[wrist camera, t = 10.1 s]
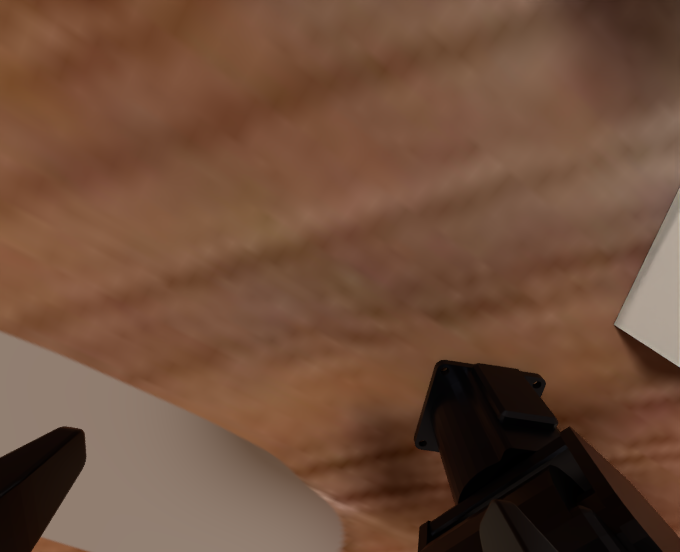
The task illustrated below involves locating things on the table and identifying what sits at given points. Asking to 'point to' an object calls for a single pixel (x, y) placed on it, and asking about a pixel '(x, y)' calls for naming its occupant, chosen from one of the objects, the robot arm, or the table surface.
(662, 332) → the white square tray
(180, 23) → the table surface
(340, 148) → the table surface
